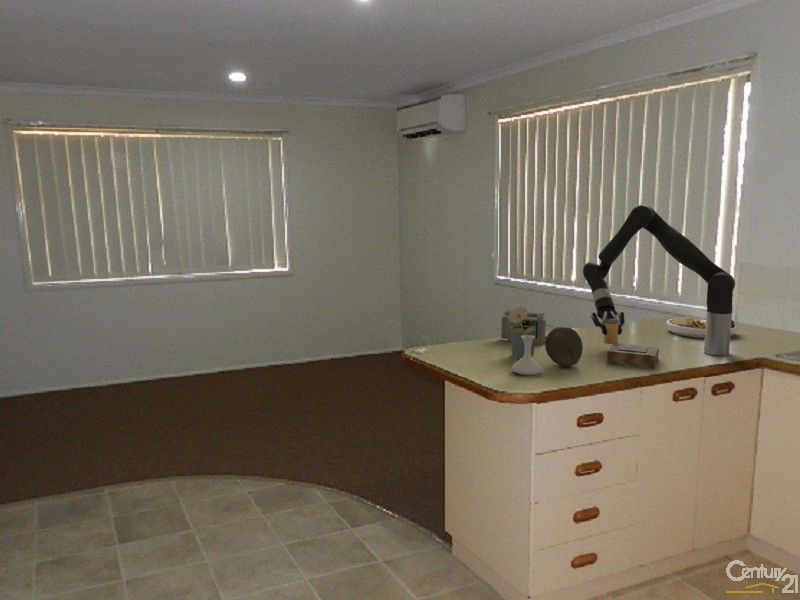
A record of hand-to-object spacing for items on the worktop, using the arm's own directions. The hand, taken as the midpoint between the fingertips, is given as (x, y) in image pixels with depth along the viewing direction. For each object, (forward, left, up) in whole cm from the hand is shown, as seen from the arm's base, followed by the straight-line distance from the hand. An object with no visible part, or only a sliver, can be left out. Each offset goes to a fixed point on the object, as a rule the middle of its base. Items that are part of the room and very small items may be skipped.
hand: (612, 333), depth 261 cm
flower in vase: (+23, +51, -8) cm, 56 cm away
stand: (-10, +15, -7) cm, 19 cm away
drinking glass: (+31, +26, -8) cm, 41 cm away
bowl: (-32, -57, -8) cm, 66 cm away
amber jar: (+1, -2, -4) cm, 5 cm away
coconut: (+13, +34, -8) cm, 37 cm away
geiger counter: (+36, -2, -8) cm, 37 cm away
